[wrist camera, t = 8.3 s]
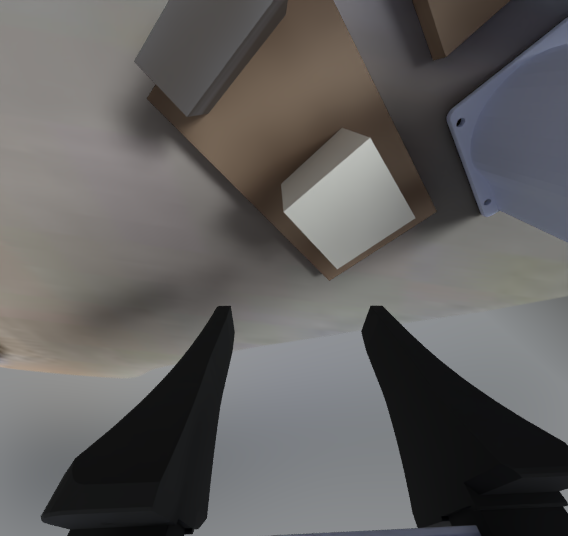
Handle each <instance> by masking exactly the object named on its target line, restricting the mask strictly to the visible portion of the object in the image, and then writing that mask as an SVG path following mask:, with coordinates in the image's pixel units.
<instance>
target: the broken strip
mask: <svg viewBox="0 0 568 536" xmlns="http://www.w3.org/2000/svg"><path fill="white" fill-rule="evenodd" d="M412 1H413V4H414V7H415V10H416V13H417V16H418V19H419V21H420V24H421V27H422V30H423V33H424V36H425V38H426V41H427V44H428V47H429V50H430V53H431V56H432V58H433V61H434V60H437V59H441V58H445V57H447V56H448V55H449V54H450V53H451V52H452V51H453V50H455V49H456V48H457V47H458V46H459V45H460V44H461V43H463V42H464V41H465V40H466V39H467V38H468V37H469V36H471V35H472V34H473V33H474V32H475V31H476V30H477V29H478V28H480V27H481V26H482V25H483V24H484V23H485V22H486V21H488V20H489V19H490V18H491V17H492V16H493V15H494V14H495V13H497V12H498V11H499V10H500V9H501V8H502V7H503V6H505V5H506V4H507V3H508V2H509V1H510V0H412Z"/></svg>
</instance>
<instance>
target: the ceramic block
mask: <svg viewBox="0 0 568 536" xmlns="http://www.w3.org/2000/svg"><path fill="white" fill-rule="evenodd" d="M281 189H282V200H283V212H284V213H285V214H286V215H287V216H288V217H289V218H290V219H291V220H292V221H293V223H294V224H295V225H296V226H297V227H298V228H299V229H300V230H301V231H302V232H303V233H304V234H305V235H306V236H307V238H308V239H309V240H310V241H311V242H312V243H313V244H314V245H315V246H316V247H317V248H318V249H319V250H320V251H321V253H322V254H323V255H324V256H325V257H326V258H327V259H328V260H329V261H330V262H331V263H332V264H333V265H334V266H335V268H336V269H339V268H340V267H342V266H343V265H345V264H346V263H348V262H349V261H351V260H352V259H354V258H355V257H357V256H358V255H360V254H361V253H363V252H365V251H366V250H368V249H369V248H371V247H372V246H374V245H375V244H377V243H378V242H380V241H381V240H383V239H384V238H386V237H387V236H389V235H390V234H392V233H394V232H395V231H397V230H398V229H400V228H401V227H403V226H404V225H406V224H407V223H409V222H410V221H412V220H413V219H415V216H414V214H413V213H412V211H411V209H410V207H409V206H408V204H407V202H406V200H405V198H404V197H403V195H402V193H401V191H400V190H399V188H398V186H397V184H396V183H395V181H394V179H393V177H392V175H391V174H390V172H389V170H388V168H387V167H386V165H385V163H384V161H383V159H382V158H381V156H380V154H379V152H378V151H377V149H376V147H375V145H374V144H373V142H372V140H371V138H370V137H367V136H364V135H361V134H358V133H356V132H353V131H350V130H347V129H344V128H341V129H340V130H339V131H338V132H337V133H336V134H335V135H334V136H333V137H332V138H330V139H329V140H328V141H327V142H326V143H325V144H324V145H323V146H322V147H321V148H320V149H318V150H317V151H316V152H315V153H314V154H313V155H312V156H311V157H310V158H309V159H308V160H307V161H305V162H304V163H303V164H302V165H301V166H300V167H299V168H298V169H297V170H296V171H295V172H294V173H292V174H291V175H290V176H289V177H288V178H287V179H286V180H285V181H284V182H283V183H282V184H281Z"/></svg>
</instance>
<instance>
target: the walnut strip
mask: <svg viewBox="0 0 568 536" xmlns="http://www.w3.org/2000/svg"><path fill="white" fill-rule="evenodd" d="M134 62H135V63H136V64H137V65H138V66H139V67H140V68H141V69H142V70H143V71H144V72H145V73H146V75H147V76H148V77H149V78H150V79H151V80H152V81H153V82H154V83H155V84H156V85H155V86H154V88H153V89H152V91H151V93H150V94H149V96H148V97H147V99H148V100H149V101H150V102H151V103H152V104H153V105H154V106H155V107H156V108H157V109H158V110H159V111H160V112H161V113H162V114H163V115H164V116H165V117H166V118H167V119H168V120H169V121H170V122H171V123H172V124H173V125H174V126H175V127H176V128H177V129H178V130H179V131H180V132H181V133H182V134H183V135H184V136H185V137H186V138H187V139H188V140H189V141H190V142H191V143H192V144H193V145H194V146H195V147H196V148H197V149H198V150H199V151H200V152H201V153H202V154H203V155H204V156H205V157H206V158H207V159H208V160H209V161H210V162H211V163H212V164H213V165H214V166H215V167H216V168H217V169H218V170H219V171H220V172H221V173H222V174H223V175H224V176H225V177H226V178H227V179H228V180H229V181H230V182H231V183H232V184H233V185H234V186H235V187H236V188H237V189H238V190H239V191H240V192H241V193H242V194H243V195H244V196H245V197H246V198H247V199H248V200H249V201H250V202H251V203H252V204H253V205H254V206H255V207H256V208H257V209H258V210H259V211H260V212H261V213H262V214H263V215H264V216H265V217H266V218H267V219H268V220H269V221H270V222H271V223H272V224H273V225H274V226H275V227H276V228H277V229H278V230H279V231H280V232H281V233H282V234H283V235H284V236H285V237H286V238H287V239H288V240H289V241H290V242H291V243H292V244H293V245H294V246H295V247H296V248H297V249H298V250H299V251H300V252H301V253H302V254H303V255H304V256H305V257H306V258H307V259H308V260H309V261H310V262H311V263H312V264H313V265H314V266H315V267H316V268H317V269H318V270H319V271H320V272H321V273H322V274H323V275H324V276H325V277H326V278H327V279H328V280H329V281H330V280H331V279H333V278H334V277H336V276H338V275H339V274H341V273H342V272H344V271H345V270H347V269H348V268H350V267H352V266H353V265H355V264H356V263H358V262H359V261H361V260H362V259H364V258H366V257H367V256H369V255H370V254H372V253H373V252H375V251H377V250H378V249H380V248H381V247H383V246H384V245H386V244H387V243H389V242H391V241H392V240H394V239H395V238H397V237H398V236H400V235H401V234H403V233H405V232H406V231H408V230H409V229H411V228H412V227H414V226H415V225H417V224H419V223H420V222H422V221H423V220H425V219H426V218H428V217H429V216H431V215H433V214H434V213H436V212H437V210H436V208H435V206H434V204H433V202H432V200H431V198H430V196H429V194H428V192H427V190H426V188H425V186H424V184H423V182H422V180H421V178H420V176H419V174H418V172H417V170H416V168H415V166H414V164H413V162H412V160H411V158H410V156H409V154H408V152H407V149H406V147H405V145H404V143H403V141H402V139H401V137H400V135H399V133H398V131H397V129H396V127H395V125H394V123H393V121H392V119H391V117H390V115H389V113H388V111H387V109H386V107H385V105H384V103H383V101H382V99H381V97H380V95H379V93H378V91H377V88H376V86H375V84H374V82H373V80H372V78H371V76H370V74H369V72H368V70H367V68H366V66H365V64H364V62H363V60H362V58H361V56H360V54H359V52H358V50H357V48H356V46H355V44H354V42H353V40H352V38H351V36H350V34H349V32H348V29H347V27H346V25H345V23H344V21H343V19H342V17H341V15H340V13H339V11H338V9H337V7H336V5H335V3H334V1H333V0H169V1H168V3H167V5H166V6H165V8H164V10H163V12H162V13H161V15H160V17H159V19H158V20H157V22H156V24H155V26H154V27H153V29H152V31H151V33H150V34H149V36H148V38H147V40H146V41H145V43H144V45H143V47H142V48H141V50H140V52H139V54H138V55H137V57H136V59H135V61H134ZM341 128H344V129H347V130H350V131H353V132H356V133H358V134H361V135H364V136H367V137H370V138H371V140H372V142H373V144H374V145H375V147H376V149H377V151H378V152H379V154H380V156H381V158H382V159H383V161H384V163H385V165H386V167H387V168H388V170H389V172H390V174H391V175H392V177H393V179H394V181H395V183H396V184H397V186H398V188H399V190H400V191H401V193H402V195H403V197H404V198H405V200H406V202H407V204H408V206H409V207H410V209H411V211H412V213H413V214H414V216H415V219H413V220H412V221H410V222H409V223H407V224H406V225H404V226H403V227H401V228H400V229H398V230H397V231H395V232H394V233H392V234H390V235H389V236H387V237H386V238H384V239H383V240H381V241H380V242H378V243H377V244H375V245H374V246H372V247H371V248H369V249H368V250H366V251H365V252H363V253H361V254H360V255H358V256H357V257H355V258H354V259H352V260H351V261H349V262H348V263H346V264H345V265H343V266H342V267H340V268H339V269H336V268H335V266H334V265H333V264H332V263H331V262H330V261H329V260H328V259H327V258H326V257H325V256H324V255H323V254H322V253H321V251H320V250H319V249H318V248H317V247H316V246H315V245H314V244H313V243H312V242H311V241H310V240H309V239H308V238H307V236H306V235H305V234H304V233H303V232H302V231H301V230H300V229H299V228H298V227H297V226H296V225H295V224H294V223H293V221H292V220H291V219H290V218H289V217H288V216H287V215H286V214H285V213H284V212H283V200H282V189H281V184H282V183H283V182H284V181H285V180H286V179H287V178H288V177H289V176H290V175H291V174H292V173H294V172H295V171H296V170H297V169H298V168H299V167H300V166H301V165H302V164H303V163H304V162H305V161H307V160H308V159H309V158H310V157H311V156H312V155H313V154H314V153H315V152H316V151H317V150H318V149H320V148H321V147H322V146H323V145H324V144H325V143H326V142H327V141H328V140H329V139H330V138H332V137H333V136H334V135H335V134H336V133H337V132H338V131H339V130H340V129H341Z"/></svg>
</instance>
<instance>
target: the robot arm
mask: <svg viewBox="0 0 568 536" xmlns="http://www.w3.org/2000/svg"><path fill="white" fill-rule="evenodd" d="M460 118H461V122H460V124H459V125H458V126H456V123H457V121H458V120H459V119H460ZM447 123H448V126H449V128H450V131H451V134H452V137H453V139H454V142H455V145H456V147H457V150H458V153H459V156H460V158H461V161H462V164H463V166H464V169H465V172H466V175H467V177H468V180H469V183H470V185H471V188H472V191H473V194H474V196H475V199H476V202H477V205H478V207H479V210H480V213H481V214H482V215H483V216H486V217H488V216H491V215H493V214H495V213H496V212H498V211H502V212H504V213H506V214H508V215H511V216H513V217H515V218H517V219H519V220H521V221H523V222H525V223H527V224H530V225H532V226H534V227H536V228H538V229H540V230H542V231H544V232H547V233H549V234H551V235H553V236H555V237H557V238H559V239H561V240H563V241H566V242H568V17H567V18H566V19H564V20H563V21H562V22H561V23H559V24H558V25H557V26H556V27H554V28H553V29H552V30H551V31H549V32H548V33H547V34H545V35H544V36H543V37H542V38H540V39H539V40H538V41H537V42H535V43H534V44H533V45H532V46H530V47H529V48H528V49H527V50H525V51H524V52H523V53H521V54H520V55H519V56H518V57H516V58H515V59H514V60H513V61H511V62H510V63H509V64H508V65H506V66H505V67H504V68H503V69H501V70H500V71H499V72H497V73H496V74H495V75H494V76H492V77H491V78H490V79H489V80H487V81H486V82H485V83H484V84H482V85H481V86H480V87H479V88H477V89H476V90H475V91H473V92H472V93H471V94H470V95H468V96H467V97H466V98H465V99H463V100H462V101H461V102H460V103H458V104H457V105H456V106H454V107H453V108H452V109H451V110H450V111H449V113H448V115H447ZM486 200H487V201H486ZM485 201H486V202H485ZM484 202H485V203H484ZM361 332H362V336H363V340H364V344H365V348H366V351H367V354H368V356H369V359H370V362H371V364H372V367H373V369H374V372H375V374H376V377H377V379H378V382H379V385H380V387H381V390H382V392H383V395H384V398H385V401H386V404H387V407H388V411H389V414H390V418H391V421H392V424H393V428H394V432H395V436H396V440H397V444H398V447H399V451H400V456H401V460H402V464H403V468H404V473H405V478H406V482H407V487H408V492H409V497H410V501H411V507H412V512H413V515H414V518H415V521H416V524H417V527H418V528H411V529H392V530H372V531H352V532H332V533H312V534H294V535H293V534H292V535H273V536H568V513H567V512H566V510H565V509H564V507H563V506H567V505H568V503H567V501H566V500H565V499H564V497H563V496H562V494H561V493H560V492H559V491H561V490H564V489H568V445H567V444H566V443H565V442H563V441H561V440H560V439H558V438H556V437H554V436H553V435H551V434H549V433H547V432H546V431H544V430H542V429H540V428H539V427H537V426H535V425H534V424H532V423H530V422H528V421H526V420H525V419H523V418H522V417H520V416H518V415H516V414H515V413H514V412H512V411H510V410H509V409H507V408H505V407H504V406H502V405H501V404H499V403H498V402H496V401H495V400H493V399H492V398H490V397H489V396H487V395H486V394H484V393H483V392H481V391H480V390H479V389H477V388H476V387H474V386H473V385H471V384H470V383H469V382H467V381H466V380H464V379H463V378H462V377H460V376H459V375H458V374H457V373H455V372H454V371H453V370H452V369H450V368H449V367H448V366H447V365H445V364H444V363H443V362H442V361H440V360H439V359H438V358H437V357H436V356H435V355H433V354H432V353H431V352H430V351H429V350H428V349H426V348H425V347H424V346H423V345H422V344H421V343H420V342H419V341H417V339H416V338H414V337H413V336H412V335H411V334H410V333H409V332H408V331H407V330H406V329H405V328H404V327H403V326H402V325H401V324H400V323H399V322H398V321H397V320H396V319H395V318H394V317H393V316H392V315H391V314H390V313H389V312H388V311H387V310H386V309H385V308H384V307H383V306H370V309H369V312H368V314H367V317H366V320H365V323H364V325H363V328H362V331H361ZM234 333H235V331H234V325H233V318H232V311H231V306H218V307H217V308H216V310H215V311H214V313H213V315H212V316H211V318H210V320H209V321H208V323H207V324H206V326H205V327H204V329H203V330H202V332H201V333H200V334H199V336H198V337H197V339H196V340H195V341H194V343H193V344H192V345H191V347H190V348H189V349H188V351H187V352H186V353H185V354H184V356H183V357H182V358H181V359H180V361H179V362H178V363H177V364H176V365H175V367H174V368H173V369H172V370H171V371H170V372H169V373H168V375H167V376H166V377H165V378H164V379H163V380H162V381H161V382H160V383H159V384H158V385H157V386H156V387H155V388H154V389H153V390H152V391H151V392H150V393H149V394H148V395H147V396H146V397H145V398H144V399H143V400H142V401H141V402H140V403H139V404H138V405H137V406H136V407H135V408H134V409H133V410H131V411H130V412H129V413H128V414H127V415H126V416H125V417H124V418H123V419H122V420H120V421H119V422H118V423H117V424H116V425H115V426H114V427H113V428H111V429H110V430H109V431H108V432H107V433H105V434H104V435H103V436H102V437H101V438H99V439H98V440H97V441H96V442H95V443H93V444H92V445H91V446H90V447H89V448H87V449H86V450H85V451H84V452H82V453H81V454H80V455H79V456H78V457H77V458H75V460H74V461H73V463H72V464H71V466H70V467H69V469H68V470H67V472H66V473H65V475H64V476H63V478H62V480H61V482H60V483H59V485H58V487H57V489H56V490H55V492H54V494H53V496H52V497H51V499H50V501H49V503H48V505H47V506H46V509H45V510H44V512H43V514H42V516H41V520H42V521H43V522H44V523H47V524H50V525H54V526H59V527H62V528H67V529H70V531H69V533H68V535H67V536H184V534H193V532H194V529H198V528H199V527H200V526H201V525H202V524H203V522H204V521H205V520H206V518H207V511H208V502H209V492H210V483H211V474H212V465H213V457H214V449H215V441H216V433H217V426H218V419H219V411H220V405H221V400H222V395H223V390H224V386H225V382H226V377H227V373H228V369H229V364H230V360H231V355H232V350H233V342H234Z"/></svg>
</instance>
